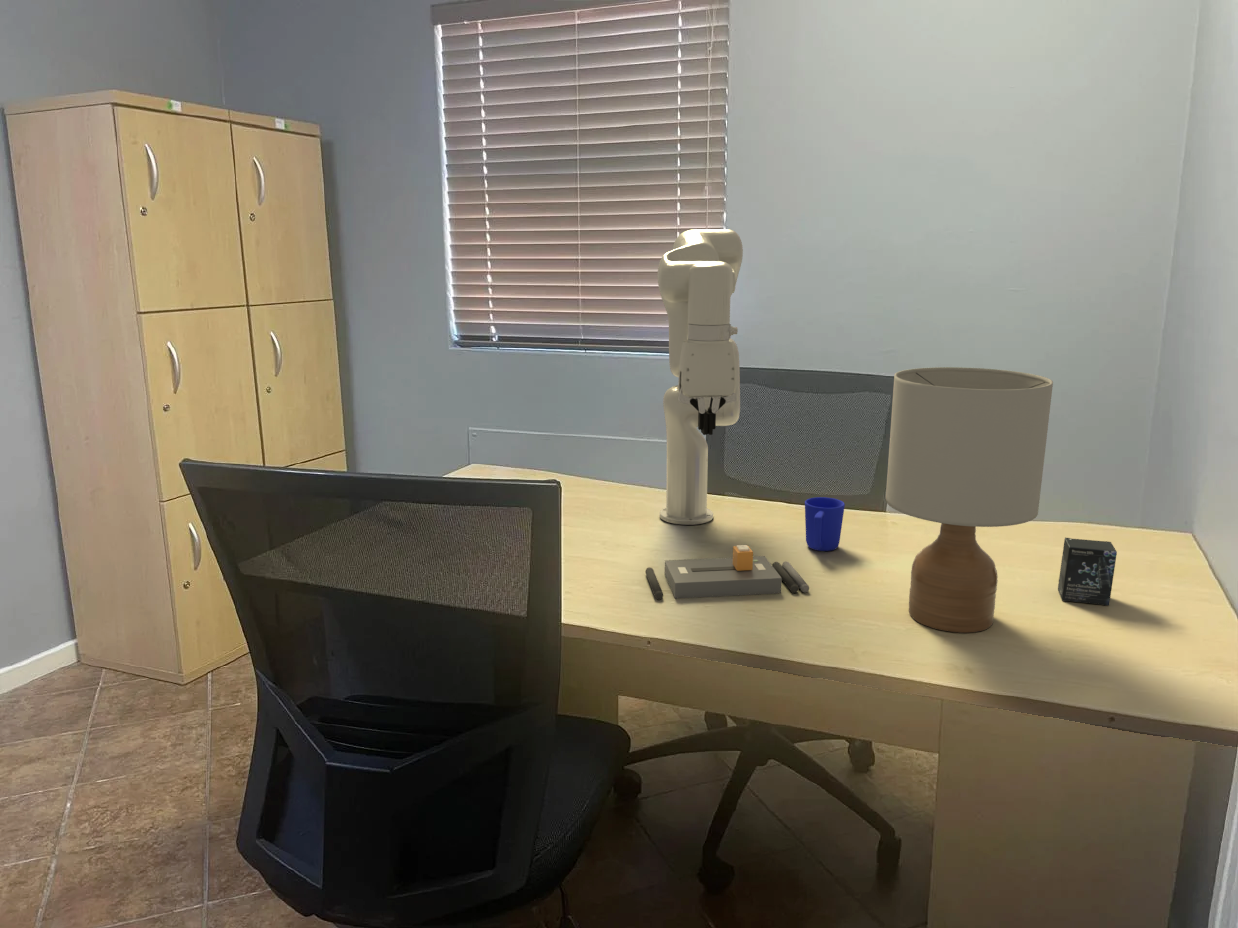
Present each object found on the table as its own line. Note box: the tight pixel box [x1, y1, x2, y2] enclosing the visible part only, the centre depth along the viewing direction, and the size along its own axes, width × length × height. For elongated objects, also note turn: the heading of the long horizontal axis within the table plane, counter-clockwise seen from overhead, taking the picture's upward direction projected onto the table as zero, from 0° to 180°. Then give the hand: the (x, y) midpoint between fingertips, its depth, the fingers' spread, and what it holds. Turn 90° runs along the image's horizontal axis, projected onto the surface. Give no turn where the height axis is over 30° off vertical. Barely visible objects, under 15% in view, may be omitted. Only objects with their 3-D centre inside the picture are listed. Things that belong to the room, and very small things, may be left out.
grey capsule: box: [771, 561, 800, 594], centre depth 174 cm, size 14×2×2 cm, turn 6°
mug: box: [804, 496, 846, 552], centre depth 189 cm, size 8×12×10 cm
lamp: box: [885, 366, 1054, 634], centre depth 152 cm, size 24×24×42 cm
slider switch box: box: [664, 555, 783, 599], centre depth 172 cm, size 12×20×3 cm, turn 96°
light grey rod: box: [781, 560, 810, 593], centre depth 174 cm, size 14×2×2 cm, turn 6°
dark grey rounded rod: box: [645, 567, 664, 600], centre depth 171 cm, size 14×2×2 cm, turn 6°
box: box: [1057, 537, 1118, 607], centre depth 163 cm, size 8×6×11 cm
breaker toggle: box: [732, 544, 754, 571], centre depth 172 cm, size 4×3×4 cm
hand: (706, 433), depth 167 cm, fingers closed
